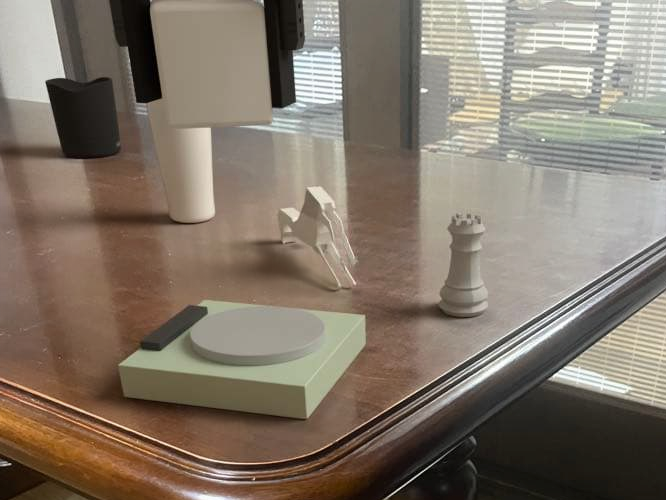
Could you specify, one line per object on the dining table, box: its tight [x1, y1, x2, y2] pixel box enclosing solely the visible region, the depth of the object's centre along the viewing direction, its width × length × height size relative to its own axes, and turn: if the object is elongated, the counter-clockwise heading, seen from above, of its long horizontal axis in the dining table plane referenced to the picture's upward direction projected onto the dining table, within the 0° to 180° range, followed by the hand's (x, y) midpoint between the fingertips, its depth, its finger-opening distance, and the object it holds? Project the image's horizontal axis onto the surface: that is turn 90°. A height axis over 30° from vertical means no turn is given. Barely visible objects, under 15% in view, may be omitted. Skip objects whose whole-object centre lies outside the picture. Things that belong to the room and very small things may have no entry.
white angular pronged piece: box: [277, 186, 359, 290], centre depth 87 cm, size 2×11×18 cm
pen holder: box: [44, 76, 122, 159], centre depth 132 cm, size 9×9×10 cm
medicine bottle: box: [150, 0, 274, 129], centre depth 58 cm, size 7×7×12 cm
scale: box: [117, 299, 367, 420], centre depth 66 cm, size 14×14×3 cm
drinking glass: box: [145, 98, 216, 224], centre depth 99 cm, size 7×7×15 cm
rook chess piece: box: [437, 212, 489, 318], centre depth 76 cm, size 4×4×8 cm
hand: (216, 102), depth 61 cm, fingers closed on medicine bottle, 9 cm apart
